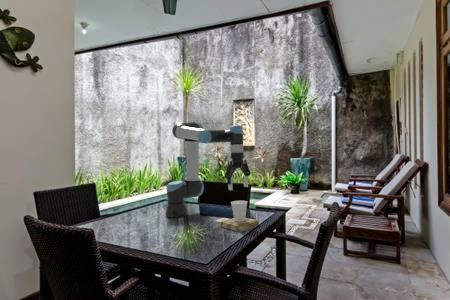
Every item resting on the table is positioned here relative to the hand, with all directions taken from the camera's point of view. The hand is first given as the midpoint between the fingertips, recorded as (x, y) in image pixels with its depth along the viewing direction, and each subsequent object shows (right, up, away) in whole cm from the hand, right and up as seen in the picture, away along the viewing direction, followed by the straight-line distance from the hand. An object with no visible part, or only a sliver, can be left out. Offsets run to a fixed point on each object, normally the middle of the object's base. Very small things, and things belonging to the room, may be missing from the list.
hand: (238, 188), depth 175 cm
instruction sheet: (-7, -22, +14) cm, 27 cm away
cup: (+1, -19, +1) cm, 19 cm away
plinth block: (+1, -22, +1) cm, 22 cm away
